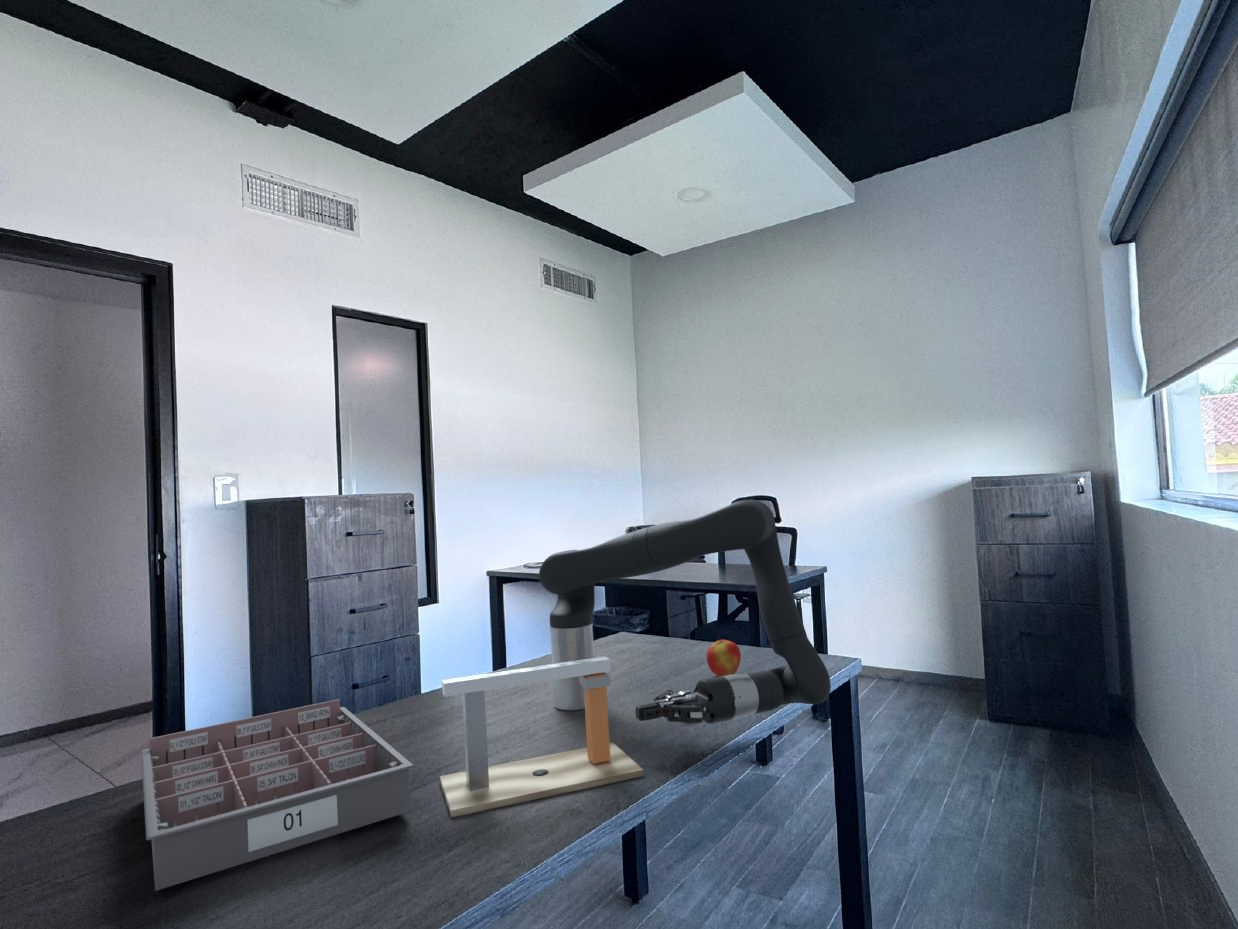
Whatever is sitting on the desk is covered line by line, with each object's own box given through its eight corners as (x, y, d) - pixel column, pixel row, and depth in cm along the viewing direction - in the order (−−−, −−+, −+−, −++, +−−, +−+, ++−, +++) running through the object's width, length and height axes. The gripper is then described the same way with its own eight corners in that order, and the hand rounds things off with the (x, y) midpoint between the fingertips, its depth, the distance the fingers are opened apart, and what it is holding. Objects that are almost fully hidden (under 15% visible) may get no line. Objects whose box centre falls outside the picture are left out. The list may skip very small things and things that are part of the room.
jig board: (440, 782, 113) (439, 775, 113) (613, 748, 124) (612, 742, 124) (451, 817, 100) (450, 810, 100) (643, 776, 111) (643, 769, 111)
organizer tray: (148, 908, 82) (145, 821, 82) (142, 799, 114) (140, 737, 115) (417, 821, 100) (414, 751, 101) (346, 749, 133) (344, 696, 133)
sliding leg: (583, 757, 117) (579, 673, 118) (606, 753, 118) (601, 669, 119) (591, 765, 113) (586, 678, 114) (614, 760, 115) (609, 674, 115)
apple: (744, 680, 163) (741, 637, 164) (710, 682, 163) (707, 639, 164) (739, 671, 171) (736, 630, 172) (706, 673, 171) (703, 632, 172)
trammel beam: (447, 788, 109) (441, 679, 109) (610, 755, 118) (604, 656, 119) (449, 795, 106) (444, 684, 106) (616, 761, 115) (610, 659, 116)
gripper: (707, 668, 131) (621, 682, 125) (744, 685, 119) (651, 701, 113) (710, 709, 131) (624, 725, 125) (747, 729, 119) (654, 748, 112)
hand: (637, 713), depth 119 cm, fingers closed
